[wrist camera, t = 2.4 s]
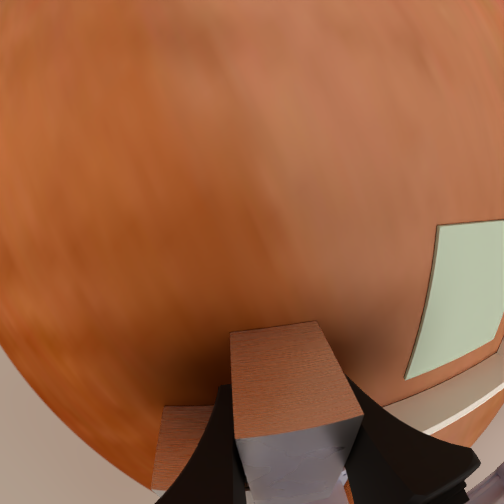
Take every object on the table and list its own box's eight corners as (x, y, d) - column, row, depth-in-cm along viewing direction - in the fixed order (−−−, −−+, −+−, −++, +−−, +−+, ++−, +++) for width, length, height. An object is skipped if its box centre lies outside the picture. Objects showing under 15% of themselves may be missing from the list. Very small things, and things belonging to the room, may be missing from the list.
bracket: (308, 428, 13) (328, 497, 9) (181, 440, 13) (176, 510, 8) (316, 320, 11) (364, 414, 6) (135, 338, 10) (98, 433, 6)
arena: (498, 358, 15) (517, 376, 12) (349, 426, 14) (363, 462, 11) (542, 175, 10) (571, 183, 7) (383, 152, 9) (436, 154, 6)
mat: (492, 337, 13) (493, 339, 13) (403, 378, 13) (405, 380, 13) (522, 218, 10) (524, 218, 10) (437, 225, 10) (440, 226, 10)
